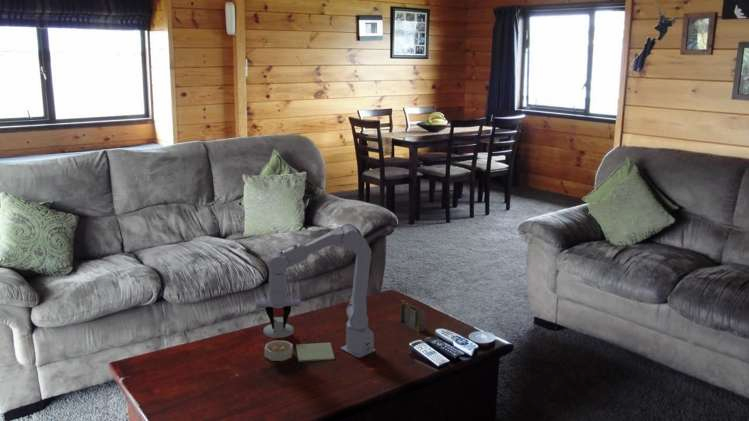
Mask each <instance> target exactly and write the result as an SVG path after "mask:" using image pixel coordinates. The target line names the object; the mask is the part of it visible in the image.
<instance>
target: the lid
mask: <svg viewBox="0 0 749 421" xmlns="http://www.w3.org/2000/svg"><path fill="white" fill-rule="evenodd" d="M262 332H263V335H264V336H266V337H268V338H273V339H275V338H276V339H282V338H286V337H290V336H292V335H293V334H294V332H295V331H294V326H293V325H291V324H289V323H288V324H286V326H285V328H283V317H274V329H272V325H271V324H270V323H269V324H268V325H266V326H264V328H263V331H262Z"/></svg>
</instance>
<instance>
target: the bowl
mask: <svg viewBox="0 0 749 421" xmlns="http://www.w3.org/2000/svg"><path fill="white" fill-rule="evenodd" d="M293 345H294V344H293V343H291V342H290V341H287V340H273V341H270V342H267V343H265V346H264V358H266V359H268V360H270V361H271V362H272V361H273V362H274V361H275V362H276V361H280V362H283V361H286V360H289V359H291V358H292V356H293V353H294V347H293Z"/></svg>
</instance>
